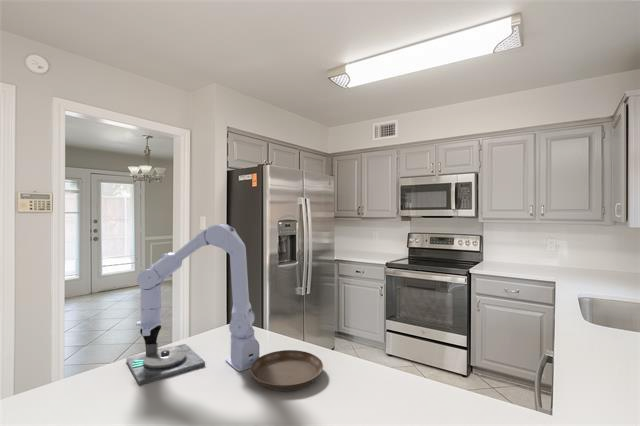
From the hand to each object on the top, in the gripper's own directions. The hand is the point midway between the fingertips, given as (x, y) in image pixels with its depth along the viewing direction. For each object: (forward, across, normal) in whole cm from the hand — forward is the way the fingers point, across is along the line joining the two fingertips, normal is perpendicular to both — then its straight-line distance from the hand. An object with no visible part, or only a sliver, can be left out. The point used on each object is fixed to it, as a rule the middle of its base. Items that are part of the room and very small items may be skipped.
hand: (150, 350), depth 104 cm
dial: (+2, +2, +4) cm, 5 cm away
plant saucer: (+4, +20, +39) cm, 44 cm away
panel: (+4, +2, +4) cm, 6 cm away
